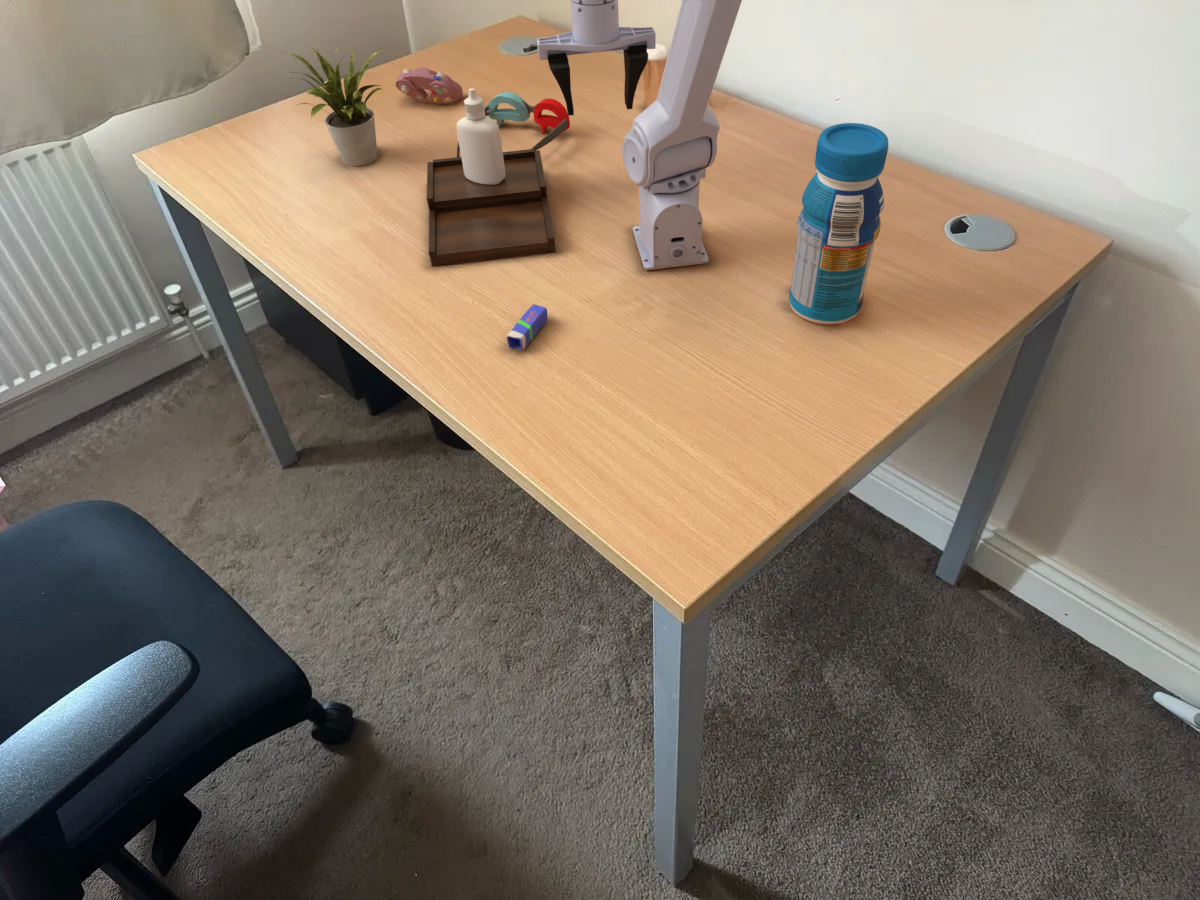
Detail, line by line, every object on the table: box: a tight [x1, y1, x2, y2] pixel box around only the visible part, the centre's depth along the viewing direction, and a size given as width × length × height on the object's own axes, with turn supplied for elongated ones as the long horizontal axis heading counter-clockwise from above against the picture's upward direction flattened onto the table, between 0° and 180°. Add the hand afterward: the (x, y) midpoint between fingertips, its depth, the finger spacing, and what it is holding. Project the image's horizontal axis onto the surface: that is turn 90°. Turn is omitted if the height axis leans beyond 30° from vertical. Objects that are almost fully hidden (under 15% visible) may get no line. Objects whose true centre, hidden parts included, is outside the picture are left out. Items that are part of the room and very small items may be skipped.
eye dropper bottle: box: [455, 87, 506, 185], centre depth 110 cm, size 4×6×12 cm
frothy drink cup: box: [642, 42, 670, 109], centre depth 130 cm, size 5×5×10 cm
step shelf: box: [426, 148, 557, 267], centre depth 112 cm, size 20×16×4 cm
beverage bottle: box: [788, 122, 889, 325], centre depth 89 cm, size 8×8×20 cm
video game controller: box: [395, 67, 464, 105], centre depth 137 cm, size 10×5×7 cm
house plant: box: [282, 44, 384, 167], centre depth 121 cm, size 14×14×16 cm
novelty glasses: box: [456, 91, 571, 157], centre depth 125 cm, size 14×15×5 cm
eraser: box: [506, 303, 549, 352], centre depth 95 cm, size 2×6×2 cm, turn 153°
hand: (599, 109), depth 111 cm, fingers open, 7 cm apart
